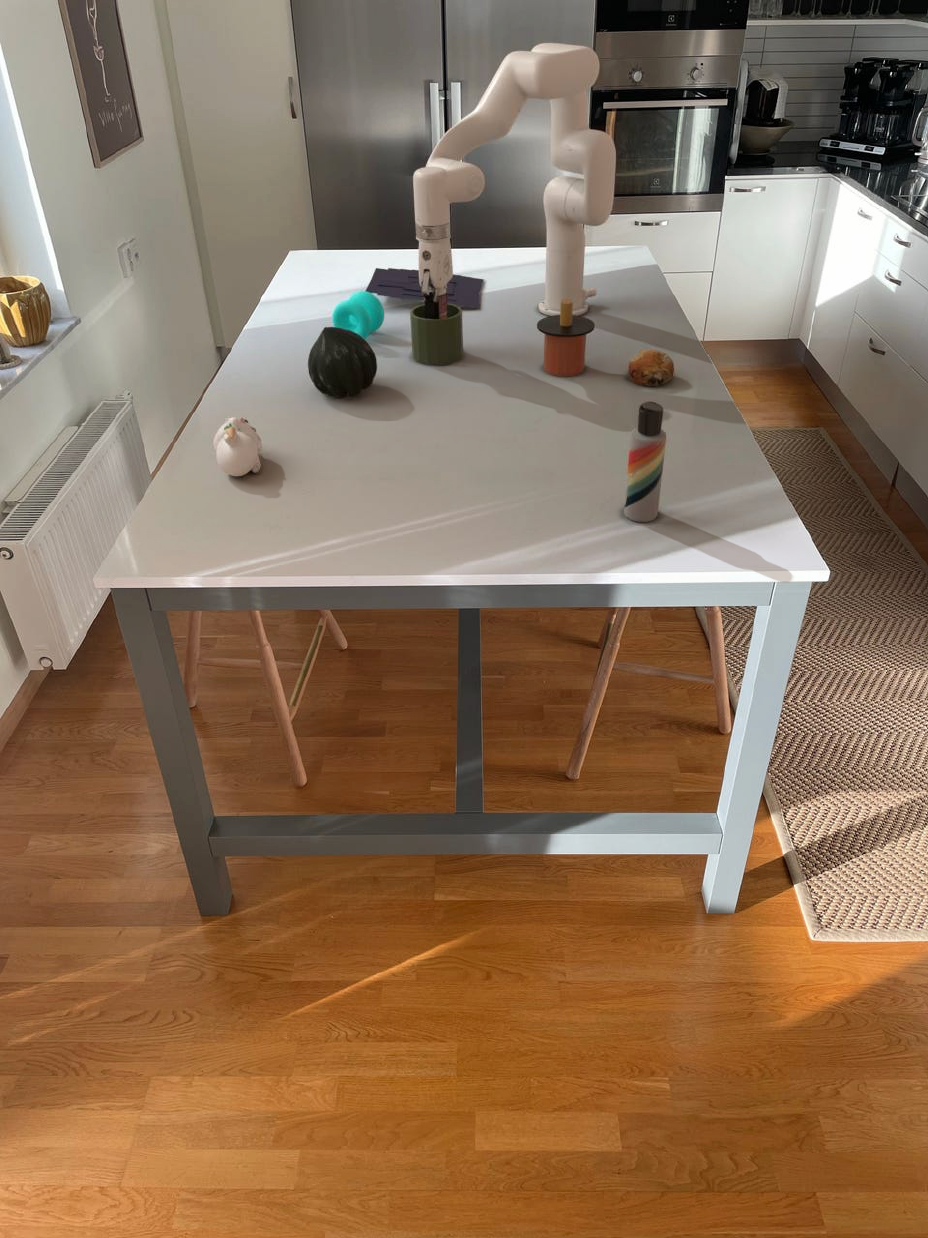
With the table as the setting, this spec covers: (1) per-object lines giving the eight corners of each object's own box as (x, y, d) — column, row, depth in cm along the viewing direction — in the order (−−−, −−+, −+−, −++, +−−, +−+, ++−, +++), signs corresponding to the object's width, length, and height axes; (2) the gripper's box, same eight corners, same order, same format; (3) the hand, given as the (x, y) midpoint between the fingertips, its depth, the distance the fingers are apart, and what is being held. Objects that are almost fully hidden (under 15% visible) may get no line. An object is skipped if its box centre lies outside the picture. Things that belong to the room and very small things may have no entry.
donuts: (332, 341, 231) (328, 300, 225) (351, 327, 239) (347, 287, 233) (369, 346, 228) (366, 304, 222) (387, 332, 236) (384, 291, 230)
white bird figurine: (237, 437, 169) (233, 395, 179) (202, 462, 171) (199, 418, 181) (272, 472, 175) (265, 429, 186) (237, 496, 177) (233, 452, 188)
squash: (400, 360, 206) (354, 303, 203) (366, 389, 196) (317, 330, 192) (362, 393, 216) (317, 339, 212) (327, 422, 206) (280, 366, 202)
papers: (376, 275, 268) (377, 262, 265) (482, 288, 268) (484, 275, 266) (363, 304, 248) (363, 290, 246) (477, 318, 248) (479, 304, 246)
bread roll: (673, 390, 213) (679, 353, 211) (668, 388, 203) (674, 349, 201) (629, 385, 215) (634, 349, 214) (622, 382, 206) (628, 344, 204)
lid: (568, 315, 216) (570, 288, 213) (606, 330, 208) (608, 302, 204) (525, 327, 211) (525, 300, 207) (562, 344, 202) (563, 315, 199)
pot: (444, 342, 229) (442, 299, 223) (472, 357, 221) (471, 312, 215) (403, 354, 224) (400, 309, 218) (431, 369, 216) (428, 323, 210)
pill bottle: (448, 314, 219) (447, 277, 214) (445, 321, 215) (444, 284, 210) (427, 314, 219) (425, 277, 214) (424, 321, 216) (423, 283, 211)
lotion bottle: (620, 506, 165) (629, 398, 153) (653, 504, 166) (664, 396, 154) (627, 523, 161) (638, 413, 149) (661, 521, 161) (674, 411, 149)
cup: (566, 357, 220) (568, 319, 215) (592, 369, 214) (594, 330, 209) (535, 367, 216) (536, 328, 210) (561, 379, 210) (563, 339, 204)
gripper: (436, 242, 199) (440, 328, 209) (461, 221, 211) (463, 303, 222) (402, 240, 200) (408, 325, 211) (429, 219, 213) (433, 301, 224)
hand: (436, 313), depth 217 cm, fingers closed on pill bottle, 4 cm apart
